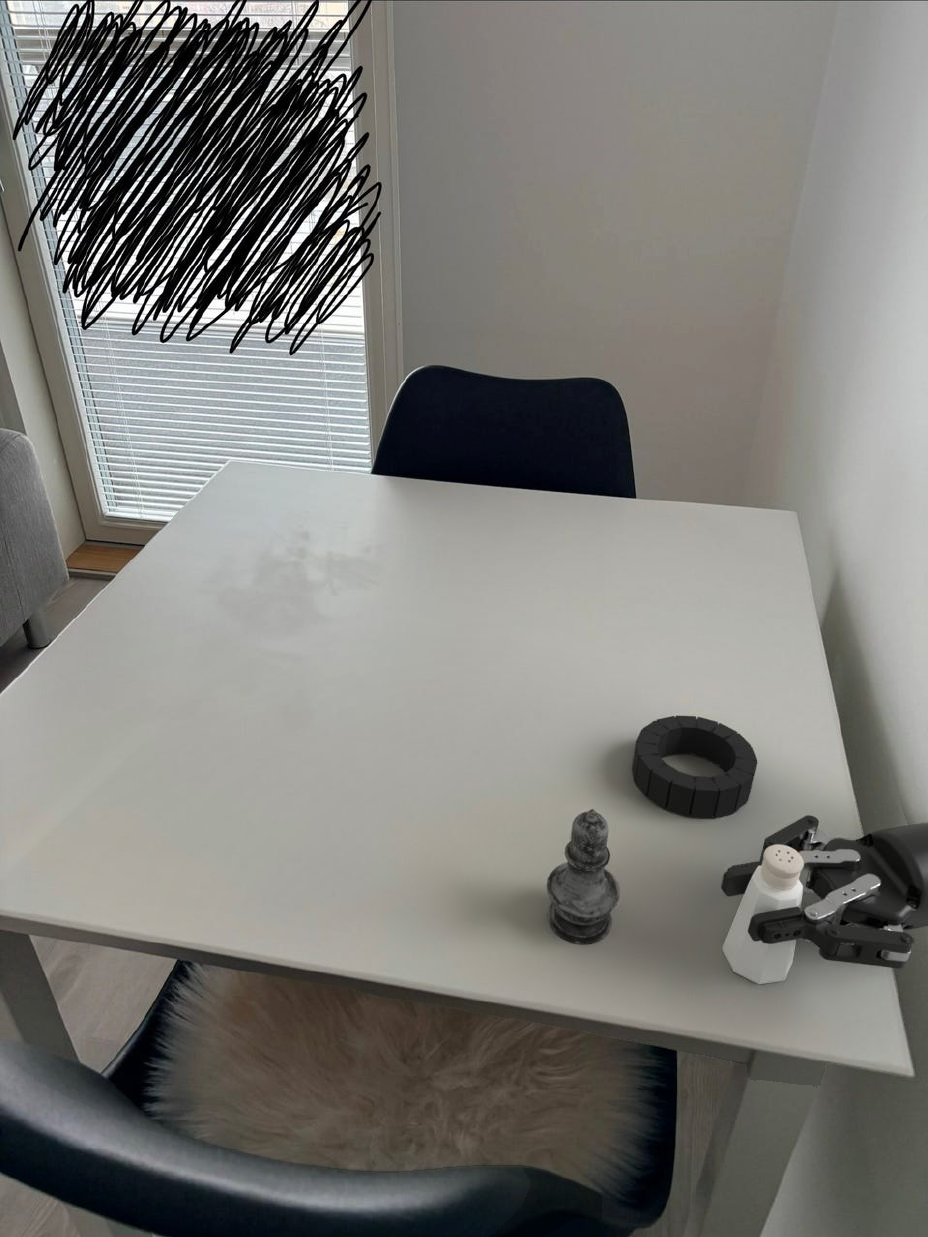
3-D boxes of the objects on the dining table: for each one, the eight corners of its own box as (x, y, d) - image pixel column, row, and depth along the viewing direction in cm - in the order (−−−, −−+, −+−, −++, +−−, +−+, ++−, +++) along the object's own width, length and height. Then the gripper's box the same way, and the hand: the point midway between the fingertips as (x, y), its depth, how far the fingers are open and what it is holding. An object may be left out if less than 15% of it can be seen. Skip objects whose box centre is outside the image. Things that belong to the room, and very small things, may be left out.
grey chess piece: (536, 936, 71) (545, 826, 65) (553, 883, 76) (563, 776, 69) (608, 956, 69) (624, 845, 63) (620, 900, 74) (637, 793, 68)
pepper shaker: (722, 978, 68) (747, 877, 62) (720, 923, 72) (744, 824, 67) (795, 993, 67) (828, 891, 61) (789, 936, 71) (818, 836, 66)
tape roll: (772, 781, 87) (779, 754, 86) (706, 836, 81) (712, 808, 79) (677, 728, 95) (682, 702, 93) (609, 774, 88) (612, 747, 86)
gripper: (893, 775, 73) (703, 804, 70) (1021, 908, 61) (799, 950, 58) (871, 841, 77) (689, 871, 73) (987, 978, 65) (776, 1021, 61)
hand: (738, 906), depth 65 cm, fingers closed on pepper shaker, 3 cm apart
